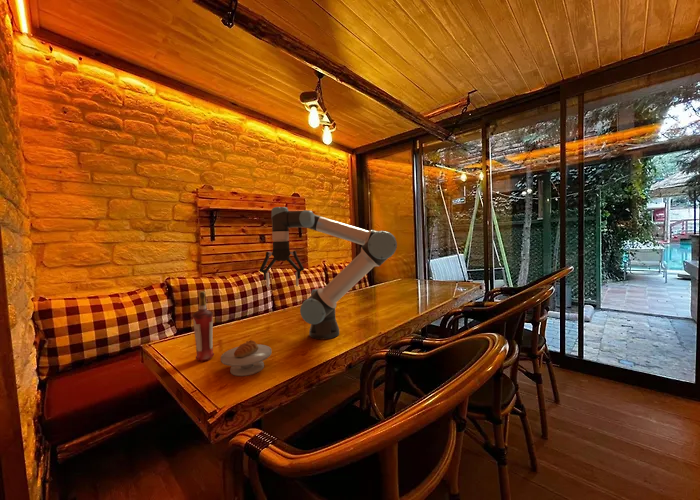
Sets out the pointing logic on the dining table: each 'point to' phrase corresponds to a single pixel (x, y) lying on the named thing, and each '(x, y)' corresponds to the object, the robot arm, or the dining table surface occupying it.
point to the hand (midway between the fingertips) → (282, 286)
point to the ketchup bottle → (203, 330)
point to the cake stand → (246, 361)
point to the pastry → (246, 349)
